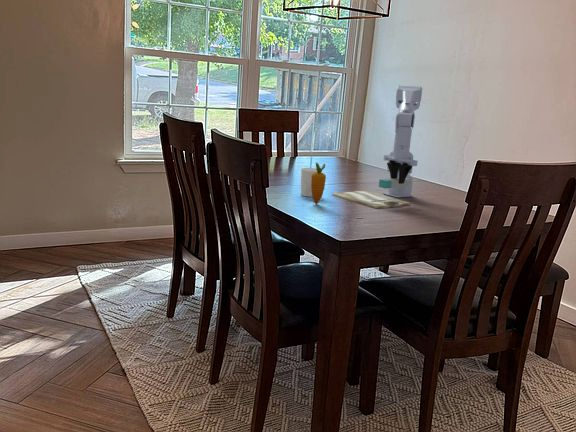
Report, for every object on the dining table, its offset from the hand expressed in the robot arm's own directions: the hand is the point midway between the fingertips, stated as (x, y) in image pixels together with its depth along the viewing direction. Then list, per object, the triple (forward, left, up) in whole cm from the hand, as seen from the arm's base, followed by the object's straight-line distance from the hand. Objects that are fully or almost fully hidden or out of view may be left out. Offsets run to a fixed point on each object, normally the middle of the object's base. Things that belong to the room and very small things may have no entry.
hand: (397, 182), depth 197 cm
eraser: (0, 0, -2) cm, 2 cm away
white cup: (+22, -24, -9) cm, 34 cm away
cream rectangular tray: (+4, -9, -8) cm, 13 cm away
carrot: (+30, -10, -9) cm, 33 cm away
